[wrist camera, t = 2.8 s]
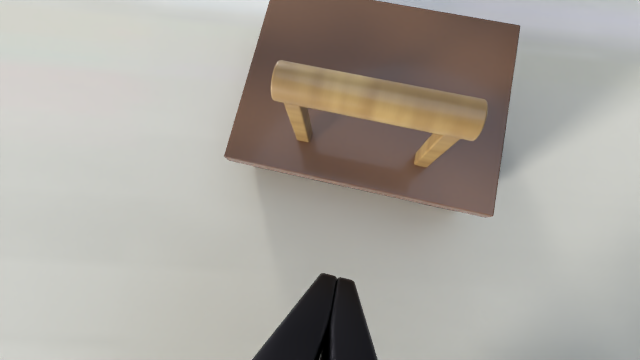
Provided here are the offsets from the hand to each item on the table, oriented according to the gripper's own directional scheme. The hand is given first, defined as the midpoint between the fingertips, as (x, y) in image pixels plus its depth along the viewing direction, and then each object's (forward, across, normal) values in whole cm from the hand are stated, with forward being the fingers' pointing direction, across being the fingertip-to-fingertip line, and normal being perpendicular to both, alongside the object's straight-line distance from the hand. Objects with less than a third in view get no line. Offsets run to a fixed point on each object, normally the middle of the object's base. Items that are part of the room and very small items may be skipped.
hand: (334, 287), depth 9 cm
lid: (+13, 0, -1) cm, 13 cm away
